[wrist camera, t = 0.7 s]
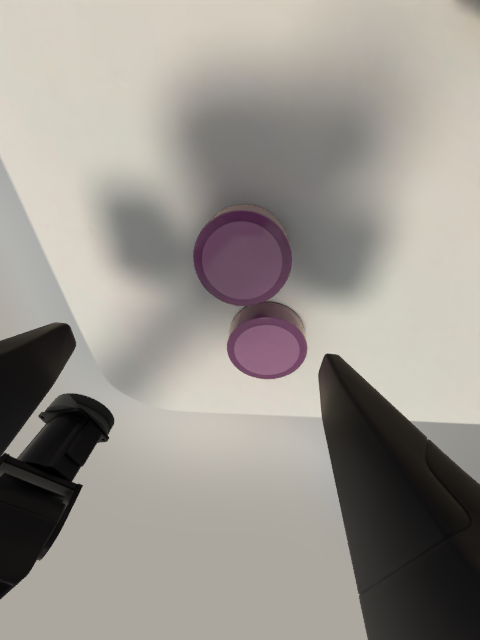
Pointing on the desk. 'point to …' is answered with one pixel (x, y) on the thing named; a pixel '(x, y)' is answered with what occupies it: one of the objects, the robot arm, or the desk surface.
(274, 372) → the dish
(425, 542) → the robot arm
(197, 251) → the dish
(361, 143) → the desk surface
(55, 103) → the desk surface
